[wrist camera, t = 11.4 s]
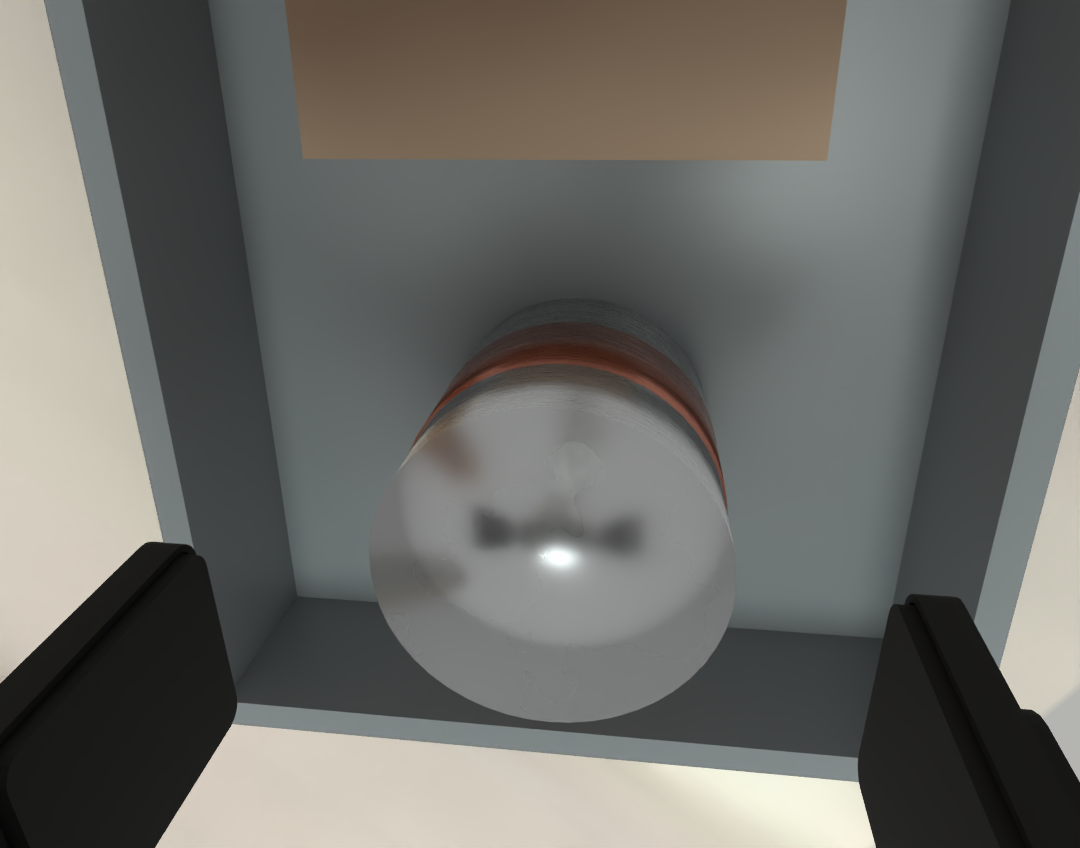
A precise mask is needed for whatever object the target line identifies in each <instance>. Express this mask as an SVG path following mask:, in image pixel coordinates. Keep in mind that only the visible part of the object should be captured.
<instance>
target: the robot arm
mask: <svg viewBox="0 0 1080 848" xmlns="http://www.w3.org/2000/svg"><path fill="white" fill-rule="evenodd" d="M236 710H237V695H236V690H235V686H234V682H233V677H232V673H231V668H230V664H229V660H228V655H227V651H226V647H225V642H224V638H223V633H222V629H221V625H220V620H219V616H218V612H217V607H216V603H215V598H214V594H213V590H212V585H211V581H210V577H209V572H208V568H207V564H206V561H205V559H204V558H203V557H202V556H199V555H196V552H195V550H194V549H193V548H192V546H190V545H187V544H177V543H162V542H148V543H145V544H144V545H142V546H141V547H140V548H139V549H138V550H137V551H136V552H135V553H134V554H133V555H132V556H131V557H130V558H129V559H128V560H127V561H125V562H124V563H123V564H122V565H121V566H120V567H119V568H118V569H117V570H116V571H115V572H114V573H113V574H112V575H111V576H110V577H109V578H108V579H107V580H106V581H105V582H104V583H103V584H102V585H101V586H100V587H99V588H98V589H97V590H96V591H95V592H94V593H93V594H92V595H91V596H90V597H89V598H88V599H87V600H86V601H84V602H83V603H82V604H81V605H80V606H79V607H78V608H77V609H76V610H75V611H74V612H73V613H72V614H71V615H70V616H69V617H68V618H67V619H66V620H65V621H64V622H63V623H62V624H61V625H60V626H59V627H58V628H57V629H56V630H55V631H54V632H53V633H52V634H51V635H50V636H49V637H48V638H47V639H46V640H45V641H43V642H42V643H41V644H40V645H39V646H38V647H37V648H36V649H35V650H34V651H33V652H32V653H31V654H30V655H29V656H28V657H27V658H26V659H25V660H24V661H23V662H22V663H21V664H20V665H19V666H18V667H17V668H16V669H15V670H14V671H13V672H12V673H11V674H10V675H9V676H8V677H7V678H6V679H5V680H4V681H2V682H1V683H0V848H155V847H156V845H157V843H158V842H159V840H160V839H161V837H162V835H163V834H164V832H165V831H166V829H167V827H168V826H169V824H170V823H171V821H172V819H173V818H174V816H175V815H176V813H177V811H178V810H179V808H180V807H181V805H182V803H183V802H184V800H185V799H186V797H187V795H188V794H189V792H190V791H191V789H192V787H193V786H194V784H195V783H196V781H197V779H198V778H199V776H200V775H201V773H202V771H203V770H204V768H205V767H206V765H207V763H208V762H209V760H210V759H211V757H212V755H213V754H214V752H215V751H216V749H217V747H218V746H219V744H220V743H221V741H222V739H223V738H224V736H225V735H226V733H227V731H228V730H229V728H230V727H231V725H232V723H233V721H234V718H235V715H236ZM858 778H859V784H860V789H861V793H862V796H863V800H864V804H865V808H866V811H867V815H868V819H869V822H870V826H871V830H872V834H873V837H874V841H875V845H876V848H1080V782H1079V780H1078V778H1077V777H1076V775H1075V773H1074V772H1073V770H1072V768H1071V766H1070V764H1069V763H1068V761H1067V759H1066V757H1065V756H1064V754H1063V752H1062V750H1061V748H1060V747H1059V745H1058V743H1057V741H1056V740H1055V738H1054V736H1053V734H1052V732H1051V731H1050V729H1049V727H1048V726H1047V724H1046V723H1045V721H1044V720H1043V719H1042V717H1041V716H1040V715H1039V714H1037V713H1036V712H1034V711H1033V710H1026V709H1020V707H1019V705H1018V703H1017V701H1016V699H1015V697H1014V696H1013V694H1012V692H1011V690H1010V688H1009V686H1008V684H1007V683H1006V681H1005V679H1004V677H1003V675H1002V673H1001V671H1000V670H999V668H998V666H997V664H996V662H995V660H994V658H993V657H992V655H991V653H990V651H989V649H988V647H987V646H986V644H985V642H984V640H983V638H982V636H981V634H980V633H979V631H978V629H977V627H976V625H975V623H974V621H973V620H972V618H971V616H970V614H969V612H968V610H967V608H966V607H965V605H964V603H963V602H962V600H961V599H960V598H958V597H952V596H938V595H923V594H910V595H908V597H907V598H906V600H905V603H904V605H902V604H894V605H892V606H891V608H890V611H889V615H888V619H887V624H886V629H885V633H884V638H883V643H882V647H881V652H880V657H879V661H878V666H877V671H876V675H875V680H874V685H873V689H872V694H871V699H870V704H869V708H868V713H867V718H866V722H865V727H864V732H863V736H862V741H861V746H860V750H859V756H858Z"/></svg>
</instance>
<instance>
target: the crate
mask: <svg viewBox="0 0 1080 848" xmlns="http://www.w3.org/2000/svg"><path fill="white" fill-rule="evenodd" d="M44 3H45V7H46V12H47V16H48V21H49V25H50V30H51V34H52V39H53V43H54V48H55V52H56V57H57V62H58V66H59V71H60V75H61V80H62V84H63V89H64V93H65V98H66V102H67V107H68V111H69V116H70V121H71V125H72V130H73V134H74V139H75V143H76V148H77V152H78V157H79V161H80V166H81V170H82V175H83V180H84V184H85V189H86V193H87V198H88V202H89V207H90V211H91V216H92V220H93V225H94V229H95V234H96V239H97V243H98V248H99V252H100V257H101V261H102V266H103V270H104V275H105V279H106V284H107V288H108V293H109V298H110V302H111V307H112V311H113V316H114V320H115V325H116V329H117V334H118V338H119V343H120V347H121V352H122V356H123V361H124V366H125V370H126V375H127V379H128V384H129V388H130V393H131V397H132V402H133V406H134V411H135V415H136V420H137V425H138V429H139V434H140V438H141V443H142V447H143V452H144V456H145V461H146V465H147V470H148V474H149V479H150V484H151V488H152V493H153V497H154V502H155V506H156V511H157V515H158V520H159V524H160V529H161V533H162V538H163V543H177V544H187V545H190V546H192V548H193V549H194V550H195V552H196V555H199V556H202V557H203V558H204V559H205V561H206V564H207V568H208V572H209V577H210V581H211V585H212V590H213V594H214V598H215V603H216V607H217V612H218V616H219V620H220V625H221V629H222V633H223V638H224V642H225V647H226V651H227V655H228V660H229V664H230V668H231V673H232V677H233V682H234V686H235V690H236V695H237V710H236V715H235V718H234V721H233V723H232V724H239V725H249V726H260V727H271V728H282V729H292V730H303V731H314V732H325V733H336V734H346V735H357V736H368V737H379V738H390V739H400V740H411V741H422V742H433V743H443V744H454V745H465V746H476V747H487V748H497V749H508V750H519V751H530V752H541V753H551V754H562V755H573V756H584V757H594V758H605V759H616V760H627V761H638V762H648V763H659V764H670V765H681V766H691V767H702V768H713V769H724V770H735V771H745V772H756V773H767V774H778V775H789V776H799V777H810V778H821V779H832V780H842V781H853V782H859V778H858V756H859V750H860V746H861V741H862V736H863V732H864V727H865V722H866V718H867V713H868V708H869V704H870V699H871V694H872V689H873V685H874V680H875V675H876V671H877V666H878V661H879V657H880V652H881V647H882V643H883V638H884V633H885V629H886V624H887V619H888V615H889V611H890V608H891V606H892V605H894V604H902V605H904V603H905V600H906V598H907V597H908V595H910V594H923V595H938V596H952V597H958V598H960V599H961V600H962V602H963V603H964V605H965V607H966V608H967V610H968V612H969V614H970V616H971V618H972V620H973V621H974V623H975V625H976V627H977V629H978V631H979V633H980V634H981V636H982V638H983V640H984V642H985V644H986V646H987V647H988V649H989V651H990V653H991V655H992V657H993V658H994V660H995V662H996V664H997V666H998V668H999V667H1000V663H1001V659H1002V656H1003V652H1004V648H1005V644H1006V641H1007V637H1008V633H1009V629H1010V626H1011V622H1012V618H1013V615H1014V611H1015V607H1016V603H1017V600H1018V596H1019V592H1020V588H1021V585H1022V581H1023V577H1024V573H1025V570H1026V566H1027V562H1028V559H1029V555H1030V551H1031V547H1032V544H1033V540H1034V536H1035V532H1036V529H1037V525H1038V521H1039V517H1040V514H1041V510H1042V506H1043V503H1044V499H1045V495H1046V491H1047V488H1048V484H1049V480H1050V476H1051V473H1052V469H1053V465H1054V461H1055V458H1056V454H1057V450H1058V447H1059V443H1060V439H1061V435H1062V432H1063V428H1064V424H1065V420H1066V417H1067V413H1068V409H1069V405H1070V402H1071V398H1072V394H1073V391H1074V387H1075V383H1076V379H1077V376H1078V372H1079V368H1080V0H847V6H846V14H845V22H844V30H843V38H842V46H841V54H840V62H839V70H838V78H837V86H836V94H835V102H834V110H833V118H832V126H831V134H830V142H829V150H828V158H827V161H759V160H476V159H303V153H302V145H301V136H300V128H299V119H298V110H297V102H296V93H295V85H294V76H293V68H292V59H291V51H290V42H289V33H288V25H287V16H286V8H285V0H44ZM577 298H581V299H594V300H601V301H605V302H610V303H615V304H617V305H620V306H623V307H626V308H629V309H631V310H633V311H635V312H637V313H639V314H641V315H643V316H645V317H647V318H649V319H650V320H652V321H653V322H655V323H656V324H657V325H659V326H660V327H662V328H663V329H664V330H665V331H666V332H667V333H668V334H670V335H671V336H672V337H673V338H674V339H675V340H676V341H677V343H678V344H679V345H680V346H681V347H682V349H683V350H684V351H685V352H686V354H687V355H688V357H689V359H690V360H691V362H692V363H693V365H694V367H695V369H696V371H697V373H698V376H699V378H700V380H701V383H702V386H703V390H704V393H705V397H706V403H707V408H708V412H709V415H710V418H711V422H712V425H713V429H714V432H715V437H716V443H717V448H718V453H719V458H720V463H721V468H722V473H723V478H724V484H725V490H726V497H727V504H728V519H729V525H730V530H731V535H732V540H733V546H734V552H735V560H736V567H737V586H736V595H735V601H734V606H733V611H732V614H731V617H730V620H729V623H728V626H727V628H726V631H725V633H724V635H723V637H722V638H721V640H720V642H719V644H718V646H717V648H716V649H715V651H714V652H713V653H712V655H711V656H710V657H709V659H708V660H707V661H706V663H705V664H704V665H703V666H702V667H701V668H700V669H699V670H698V671H697V672H696V673H695V674H694V675H693V676H692V677H691V678H690V679H689V680H688V681H687V682H685V683H684V684H683V685H681V686H680V687H679V688H677V689H676V690H675V691H674V692H672V693H670V694H669V695H667V696H665V697H663V698H662V699H660V700H658V701H657V702H655V703H652V704H650V705H648V706H646V707H643V708H641V709H639V710H636V711H633V712H630V713H627V714H623V715H620V716H617V717H612V718H607V719H602V720H596V721H587V722H573V723H567V722H546V721H538V720H530V719H525V718H521V717H516V716H512V715H508V714H504V713H501V712H499V711H496V710H493V709H490V708H487V707H484V706H482V705H480V704H478V703H476V702H473V701H471V700H469V699H467V698H465V697H463V696H462V695H460V694H458V693H457V692H455V691H453V690H451V689H450V688H448V687H446V686H445V685H444V684H442V683H441V682H440V681H438V680H437V679H436V678H434V677H433V676H432V675H430V674H429V673H428V672H427V671H426V670H425V669H424V668H423V667H422V666H421V665H420V664H418V663H417V662H416V661H415V660H414V659H413V658H412V656H411V655H410V654H409V653H408V652H407V651H406V649H405V648H404V647H403V646H402V645H401V643H400V642H399V640H398V639H397V637H396V636H395V634H394V633H393V631H392V630H391V628H390V627H389V625H388V623H387V621H386V619H385V617H384V615H383V613H382V611H381V609H380V606H379V603H378V600H377V597H376V594H375V591H374V588H373V583H372V577H371V572H370V556H369V546H370V538H371V529H372V525H373V522H374V518H375V514H376V511H377V508H378V506H379V504H380V501H381V499H382V497H383V495H384V492H385V490H386V489H387V487H388V486H389V484H390V482H391V481H392V479H393V478H394V476H395V474H396V473H397V471H398V470H399V468H400V467H401V465H402V463H403V462H404V460H405V459H406V457H407V455H408V454H409V452H410V449H411V447H412V445H413V443H414V441H415V438H416V436H417V435H418V433H419V432H420V430H421V429H422V427H423V425H424V424H425V422H426V421H427V419H428V418H429V416H430V414H431V413H432V411H433V410H434V408H435V407H436V405H437V403H438V402H439V400H440V399H441V397H442V396H443V394H444V393H445V391H446V389H447V388H448V386H449V385H450V383H451V382H452V380H453V379H454V377H455V376H456V374H457V373H458V372H459V371H460V370H461V369H462V367H463V366H464V365H465V364H466V362H467V360H468V359H469V357H470V356H471V354H472V353H473V351H474V350H475V348H476V347H477V345H478V344H479V343H480V342H481V341H482V340H483V338H484V337H485V336H486V335H487V334H488V333H489V332H490V331H492V330H493V329H494V328H495V327H496V326H497V325H498V324H500V323H501V322H503V321H504V320H506V319H507V318H509V317H510V316H512V315H514V314H516V313H518V312H520V311H522V310H524V309H526V308H528V307H532V306H535V305H538V304H541V303H544V302H549V301H555V300H560V299H577Z"/></svg>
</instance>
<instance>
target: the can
mask: <svg viewBox="0 0 1080 848" xmlns="http://www.w3.org/2000/svg"><path fill="white" fill-rule="evenodd" d="M369 556H370V572H371V577H372V583H373V588H374V591H375V594H376V597H377V600H378V603H379V606H380V609H381V611H382V613H383V615H384V617H385V619H386V621H387V623H388V625H389V627H390V628H391V630H392V631H393V633H394V634H395V636H396V637H397V639H398V640H399V642H400V643H401V645H402V646H403V647H404V648H405V649H406V651H407V652H408V653H409V654H410V655H411V656H412V658H413V659H414V660H415V661H416V662H417V663H418V664H420V665H421V666H422V667H423V668H424V669H425V670H426V671H427V672H428V673H429V674H430V675H432V676H433V677H434V678H436V679H437V680H438V681H440V682H441V683H442V684H444V685H445V686H446V687H448V688H450V689H451V690H453V691H455V692H457V693H458V694H460V695H462V696H463V697H465V698H467V699H469V700H471V701H473V702H476V703H478V704H480V705H482V706H484V707H487V708H490V709H493V710H496V711H499V712H501V713H504V714H508V715H512V716H516V717H521V718H525V719H530V720H538V721H546V722H567V723H573V722H587V721H596V720H602V719H607V718H612V717H617V716H620V715H623V714H627V713H630V712H633V711H636V710H639V709H641V708H643V707H646V706H648V705H650V704H652V703H655V702H657V701H658V700H660V699H662V698H663V697H665V696H667V695H669V694H670V693H672V692H674V691H675V690H676V689H677V688H679V687H680V686H681V685H683V684H684V683H685V682H687V681H688V680H689V679H690V678H691V677H692V676H693V675H694V674H695V673H696V672H697V671H698V670H699V669H700V668H701V667H702V666H703V665H704V664H705V663H706V661H707V660H708V659H709V657H710V656H711V655H712V653H713V652H714V651H715V649H716V648H717V646H718V644H719V642H720V640H721V638H722V637H723V635H724V633H725V631H726V628H727V626H728V623H729V620H730V617H731V614H732V611H733V606H734V601H735V595H736V586H737V567H736V560H735V552H734V546H733V540H732V535H731V530H730V525H729V519H728V504H727V497H726V490H725V484H724V478H723V473H722V468H721V463H720V458H719V453H718V448H717V443H716V437H715V432H714V429H713V425H712V422H711V418H710V415H709V412H708V408H707V403H706V397H705V393H704V390H703V386H702V383H701V380H700V378H699V376H698V373H697V371H696V369H695V367H694V365H693V363H692V362H691V360H690V359H689V357H688V355H687V354H686V352H685V351H684V350H683V349H682V347H681V346H680V345H679V344H678V343H677V341H676V340H675V339H674V338H673V337H672V336H671V335H670V334H668V333H667V332H666V331H665V330H664V329H663V328H662V327H660V326H659V325H657V324H656V323H655V322H653V321H652V320H650V319H649V318H647V317H645V316H643V315H641V314H639V313H637V312H635V311H633V310H631V309H629V308H626V307H623V306H620V305H617V304H615V303H610V302H605V301H601V300H594V299H581V298H577V299H560V300H555V301H549V302H544V303H541V304H538V305H535V306H532V307H528V308H526V309H524V310H522V311H520V312H518V313H516V314H514V315H512V316H510V317H509V318H507V319H506V320H504V321H503V322H501V323H500V324H498V325H497V326H496V327H495V328H494V329H493V330H492V331H490V332H489V333H488V334H487V335H486V336H485V337H484V338H483V340H482V341H481V342H480V343H479V344H478V345H477V347H476V348H475V350H474V351H473V353H472V354H471V356H470V357H469V359H468V360H467V362H466V364H465V365H464V366H463V367H462V369H461V370H460V371H459V372H458V373H457V374H456V376H455V377H454V379H453V380H452V382H451V383H450V385H449V386H448V388H447V389H446V391H445V393H444V394H443V396H442V397H441V399H440V400H439V402H438V403H437V405H436V407H435V408H434V410H433V411H432V413H431V414H430V416H429V418H428V419H427V421H426V422H425V424H424V425H423V427H422V429H421V430H420V432H419V433H418V435H417V436H416V438H415V441H414V443H413V445H412V447H411V449H410V452H409V454H408V455H407V457H406V459H405V460H404V462H403V463H402V465H401V467H400V468H399V470H398V471H397V473H396V474H395V476H394V478H393V479H392V481H391V482H390V484H389V486H388V487H387V489H386V490H385V492H384V495H383V497H382V499H381V501H380V504H379V506H378V508H377V511H376V514H375V518H374V522H373V525H372V529H371V538H370V546H369Z"/></svg>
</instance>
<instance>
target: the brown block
mask: <svg viewBox="0 0 1080 848" xmlns="http://www.w3.org/2000/svg"><path fill="white" fill-rule="evenodd" d="M846 6H847V0H285V8H286V16H287V25H288V33H289V42H290V51H291V59H292V68H293V76H294V85H295V93H296V102H297V110H298V119H299V128H300V136H301V145H302V153H303V159H476V160H759V161H827V158H828V150H829V142H830V134H831V126H832V118H833V110H834V102H835V94H836V86H837V78H838V70H839V62H840V54H841V46H842V38H843V30H844V22H845V14H846Z"/></svg>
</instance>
